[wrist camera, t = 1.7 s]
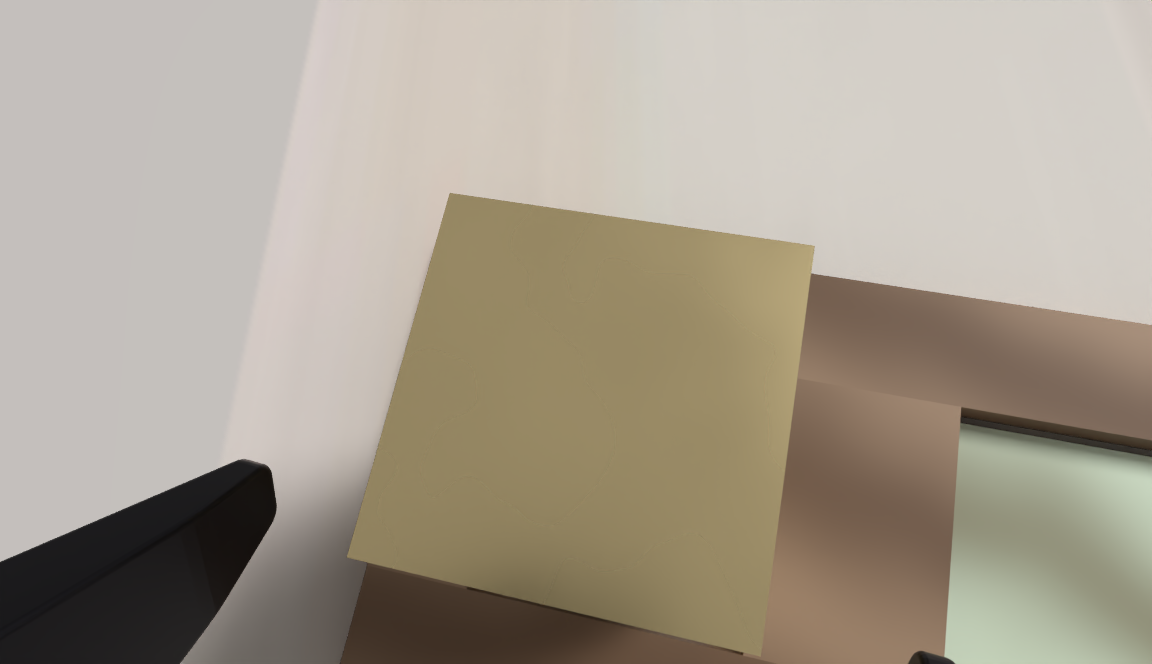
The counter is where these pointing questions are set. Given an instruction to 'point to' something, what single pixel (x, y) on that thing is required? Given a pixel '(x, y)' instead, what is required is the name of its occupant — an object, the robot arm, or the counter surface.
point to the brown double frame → (894, 506)
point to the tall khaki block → (594, 418)
